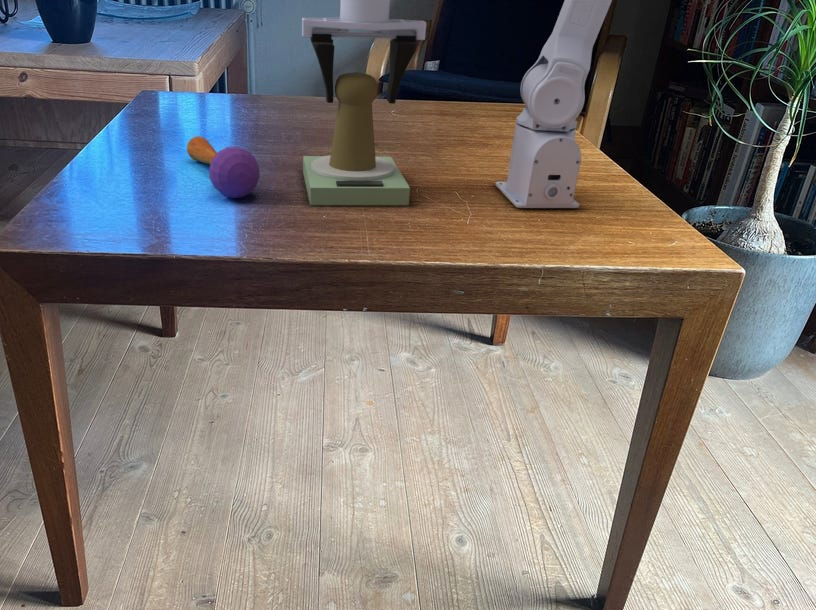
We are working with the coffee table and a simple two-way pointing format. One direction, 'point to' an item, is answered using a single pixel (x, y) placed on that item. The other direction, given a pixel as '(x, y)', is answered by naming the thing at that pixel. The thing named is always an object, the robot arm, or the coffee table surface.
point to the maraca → (227, 167)
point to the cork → (354, 123)
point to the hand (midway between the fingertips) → (360, 101)
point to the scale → (354, 183)
